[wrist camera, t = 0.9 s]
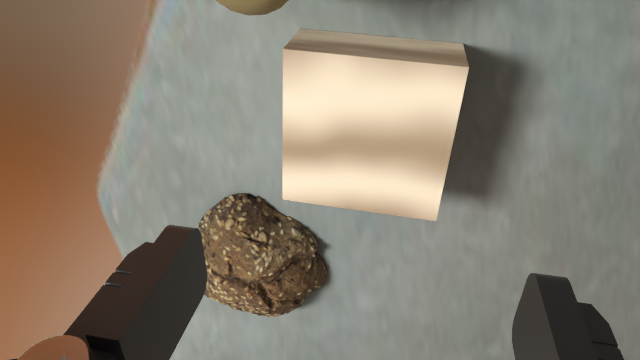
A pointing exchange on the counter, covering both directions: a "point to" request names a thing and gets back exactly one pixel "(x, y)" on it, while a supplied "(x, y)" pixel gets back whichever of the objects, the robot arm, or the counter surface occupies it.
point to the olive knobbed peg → (252, 6)
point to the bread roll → (258, 257)
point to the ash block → (370, 120)
